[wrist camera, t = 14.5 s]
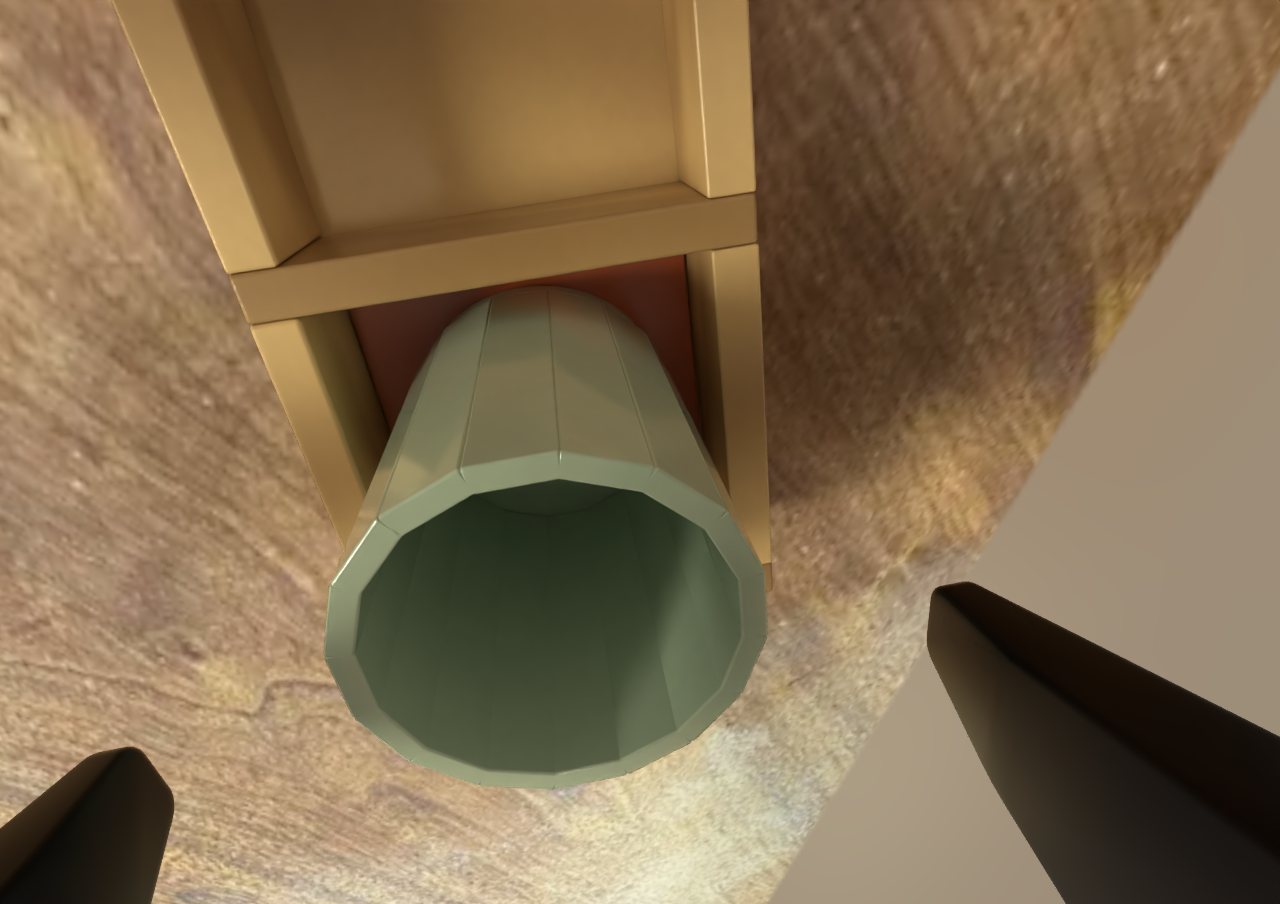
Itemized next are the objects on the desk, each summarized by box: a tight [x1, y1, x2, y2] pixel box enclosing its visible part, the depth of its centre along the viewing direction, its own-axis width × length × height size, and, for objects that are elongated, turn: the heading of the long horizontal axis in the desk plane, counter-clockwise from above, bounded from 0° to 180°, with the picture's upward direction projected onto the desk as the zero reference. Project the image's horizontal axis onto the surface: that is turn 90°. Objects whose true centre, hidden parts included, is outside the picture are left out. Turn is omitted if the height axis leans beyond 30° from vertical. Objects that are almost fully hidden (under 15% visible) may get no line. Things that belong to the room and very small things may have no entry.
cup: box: [323, 286, 768, 790], centre depth 11 cm, size 5×5×7 cm
